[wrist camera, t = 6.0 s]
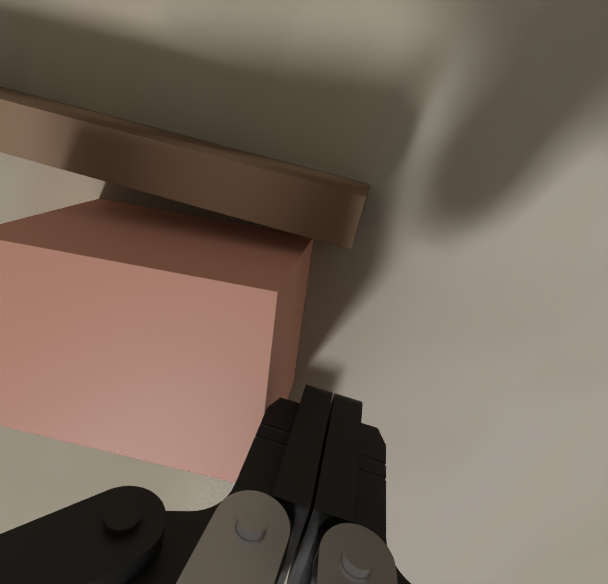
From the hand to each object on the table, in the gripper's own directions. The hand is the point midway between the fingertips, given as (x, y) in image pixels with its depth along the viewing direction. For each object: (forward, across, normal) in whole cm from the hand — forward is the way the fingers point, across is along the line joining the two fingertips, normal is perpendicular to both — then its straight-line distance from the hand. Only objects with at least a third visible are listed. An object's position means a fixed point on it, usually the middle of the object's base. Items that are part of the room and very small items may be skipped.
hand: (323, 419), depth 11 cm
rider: (+5, +6, 0) cm, 8 cm away
